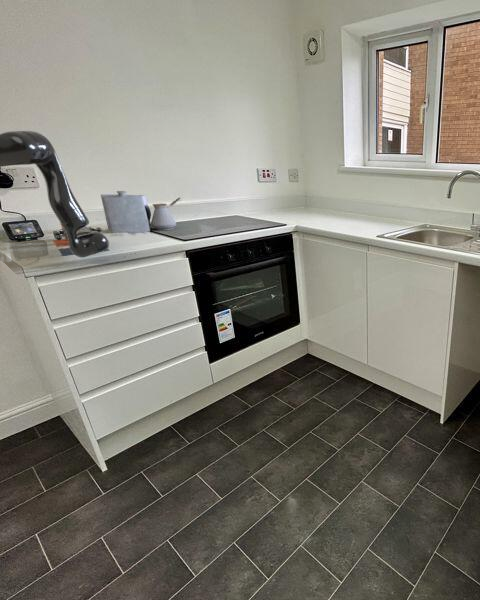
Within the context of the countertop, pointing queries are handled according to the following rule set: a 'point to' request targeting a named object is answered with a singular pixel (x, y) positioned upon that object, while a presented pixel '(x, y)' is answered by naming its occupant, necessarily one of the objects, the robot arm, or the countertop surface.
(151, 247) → the countertop surface
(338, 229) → the countertop surface
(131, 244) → the countertop surface
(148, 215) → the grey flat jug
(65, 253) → the grey mat
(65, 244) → the terracotta mat
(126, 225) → the hip flask
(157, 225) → the coffee pot
